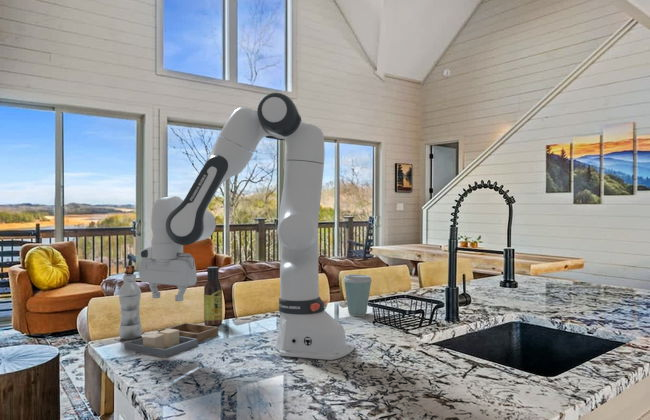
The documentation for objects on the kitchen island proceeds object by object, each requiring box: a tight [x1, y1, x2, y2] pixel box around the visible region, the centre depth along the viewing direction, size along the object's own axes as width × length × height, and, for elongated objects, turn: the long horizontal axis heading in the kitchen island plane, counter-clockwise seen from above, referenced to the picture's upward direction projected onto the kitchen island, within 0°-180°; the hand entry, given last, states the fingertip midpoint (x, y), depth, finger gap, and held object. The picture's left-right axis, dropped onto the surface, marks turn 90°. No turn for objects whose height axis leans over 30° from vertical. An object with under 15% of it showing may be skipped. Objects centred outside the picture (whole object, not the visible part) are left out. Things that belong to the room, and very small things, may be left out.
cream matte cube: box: [158, 328, 179, 347], centre depth 134 cm, size 4×4×4 cm
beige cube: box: [142, 332, 164, 349], centre depth 129 cm, size 4×4×4 cm
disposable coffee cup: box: [343, 273, 372, 317], centre depth 171 cm, size 11×11×15 cm
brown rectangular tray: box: [163, 322, 219, 343], centre depth 143 cm, size 14×9×3 cm, turn 61°
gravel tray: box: [124, 332, 199, 358], centre depth 131 cm, size 16×12×2 cm
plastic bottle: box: [118, 273, 143, 341], centre depth 142 cm, size 6×7×20 cm
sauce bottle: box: [203, 266, 223, 327], centre depth 160 cm, size 6×6×20 cm
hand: (167, 299), depth 134 cm, fingers open, 8 cm apart
